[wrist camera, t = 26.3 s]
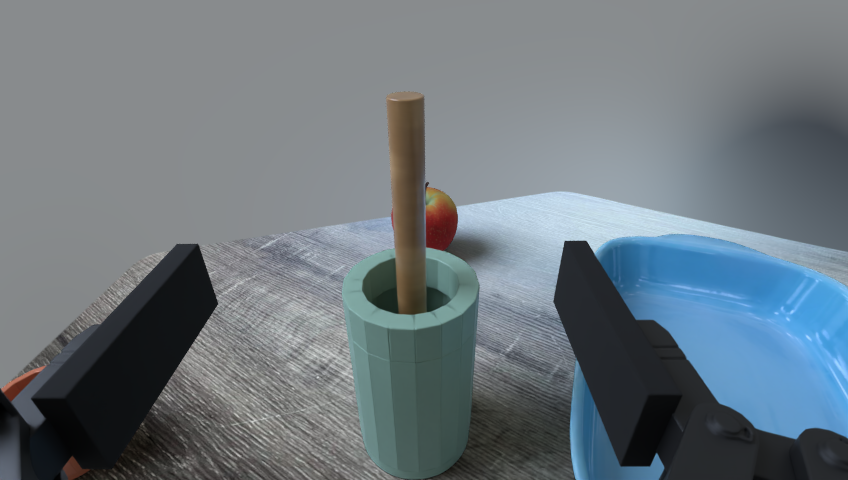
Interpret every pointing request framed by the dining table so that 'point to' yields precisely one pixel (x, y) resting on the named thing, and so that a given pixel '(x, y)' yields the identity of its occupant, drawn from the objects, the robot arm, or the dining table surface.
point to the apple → (439, 219)
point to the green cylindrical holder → (413, 363)
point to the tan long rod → (408, 198)
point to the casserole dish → (727, 338)
